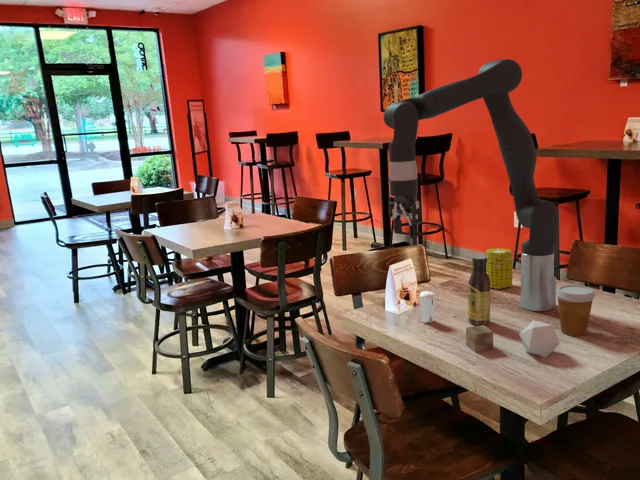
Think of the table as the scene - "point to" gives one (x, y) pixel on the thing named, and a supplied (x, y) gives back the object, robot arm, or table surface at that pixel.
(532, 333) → the die
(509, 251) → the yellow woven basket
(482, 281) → the sauce bottle
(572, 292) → the disposable coffee cup
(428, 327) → the table surface
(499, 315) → the table surface
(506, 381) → the table surface
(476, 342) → the walnut cube
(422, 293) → the milkshake
